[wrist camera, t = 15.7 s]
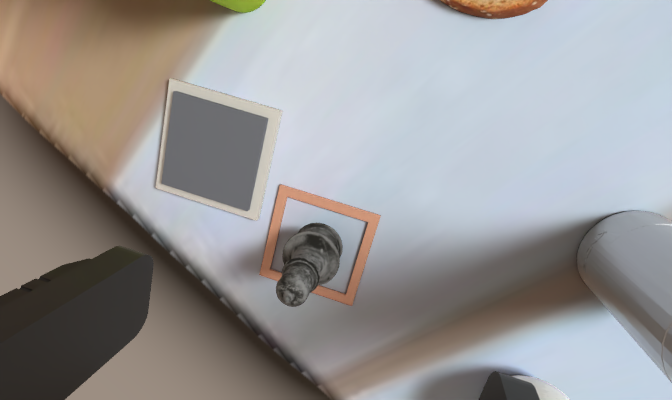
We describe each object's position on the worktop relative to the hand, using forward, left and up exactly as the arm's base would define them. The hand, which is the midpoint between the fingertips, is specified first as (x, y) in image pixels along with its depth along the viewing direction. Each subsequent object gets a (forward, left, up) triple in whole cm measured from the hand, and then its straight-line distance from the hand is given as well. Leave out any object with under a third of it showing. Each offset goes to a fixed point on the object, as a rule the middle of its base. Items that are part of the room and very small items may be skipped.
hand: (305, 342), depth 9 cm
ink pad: (+17, +6, -32) cm, 37 cm away
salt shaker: (+4, +13, -32) cm, 35 cm away
